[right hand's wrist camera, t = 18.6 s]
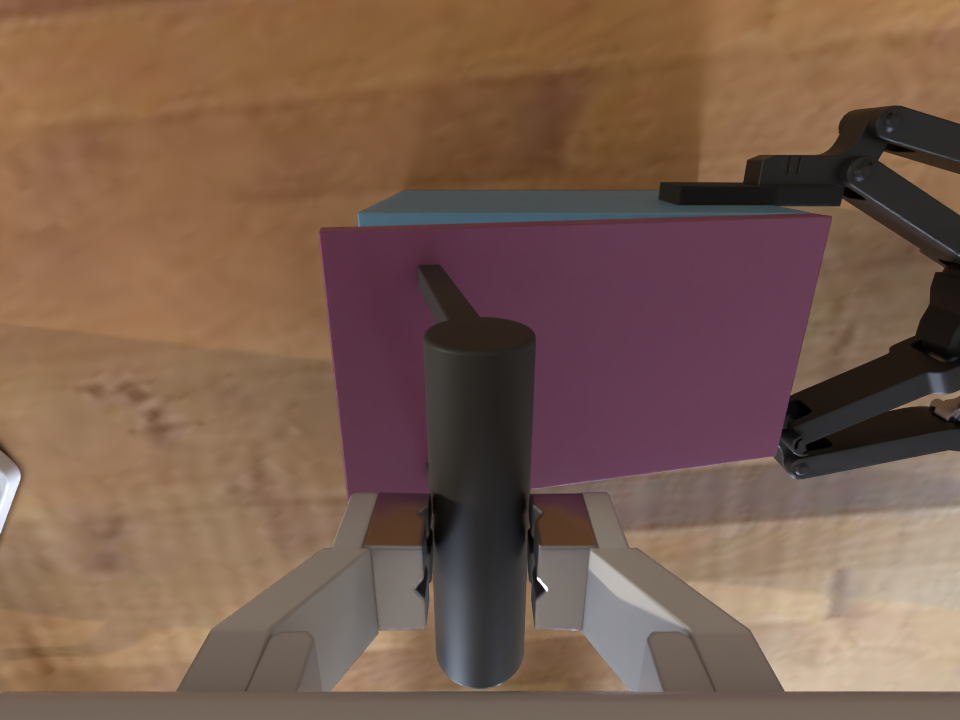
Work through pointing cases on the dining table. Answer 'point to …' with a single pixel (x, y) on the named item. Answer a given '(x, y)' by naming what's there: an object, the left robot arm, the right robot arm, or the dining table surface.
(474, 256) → the lid
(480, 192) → the chest
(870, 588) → the dining table surface
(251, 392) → the dining table surface
